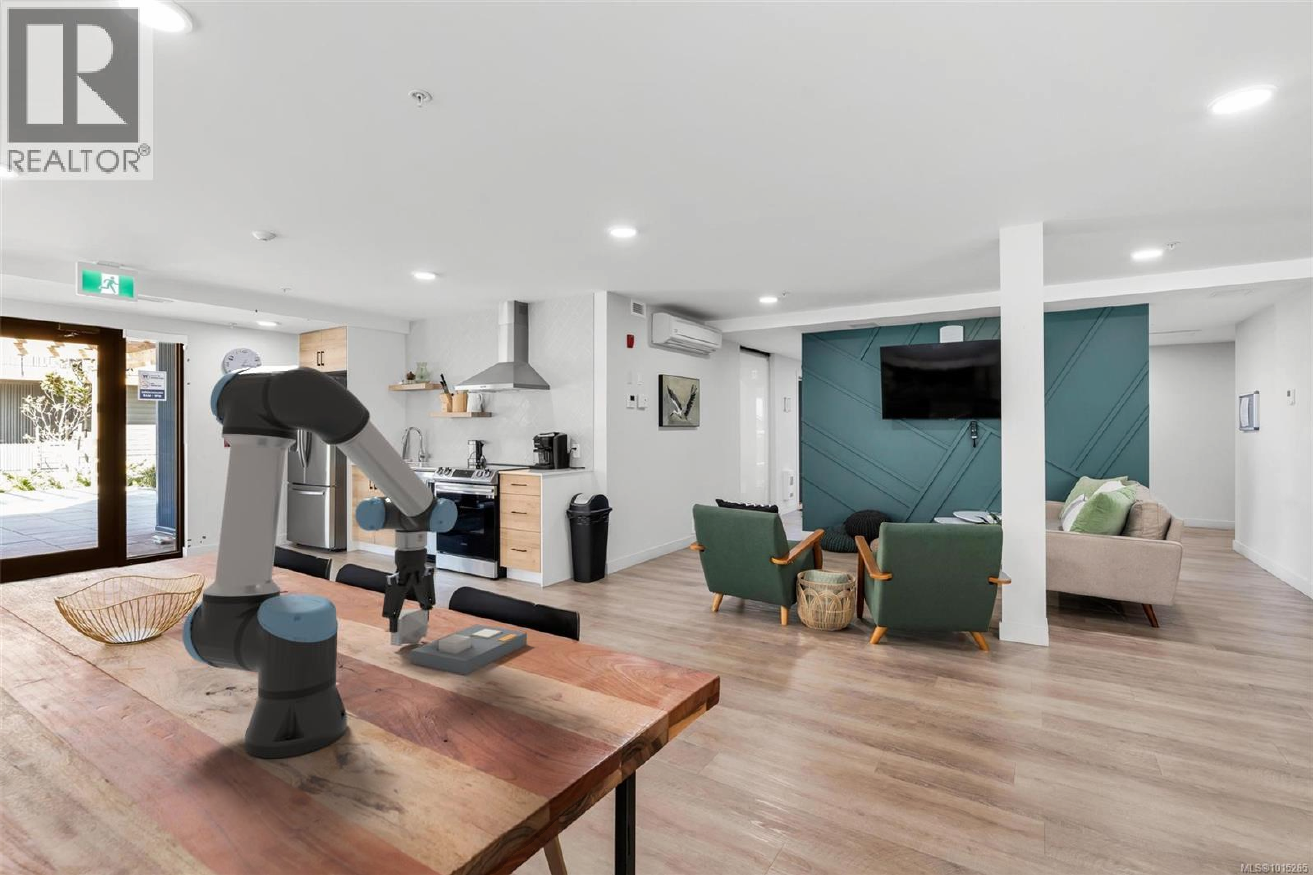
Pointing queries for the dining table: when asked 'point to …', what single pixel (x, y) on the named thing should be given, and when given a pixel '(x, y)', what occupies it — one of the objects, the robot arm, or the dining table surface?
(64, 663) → the dining table surface
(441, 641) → the button
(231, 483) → the robot arm
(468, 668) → the breaker panel
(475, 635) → the tagged button
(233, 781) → the dining table surface
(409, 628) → the die
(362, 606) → the dining table surface
